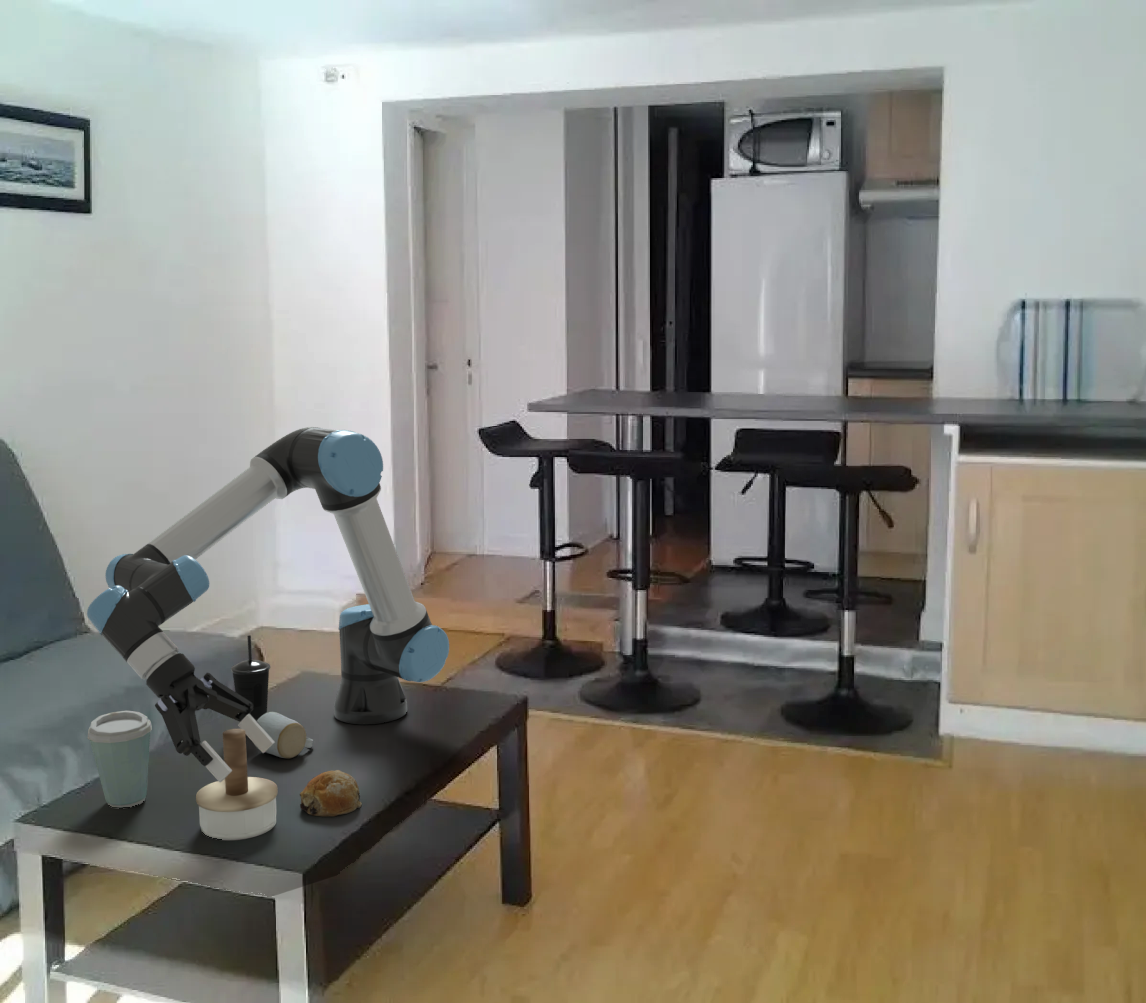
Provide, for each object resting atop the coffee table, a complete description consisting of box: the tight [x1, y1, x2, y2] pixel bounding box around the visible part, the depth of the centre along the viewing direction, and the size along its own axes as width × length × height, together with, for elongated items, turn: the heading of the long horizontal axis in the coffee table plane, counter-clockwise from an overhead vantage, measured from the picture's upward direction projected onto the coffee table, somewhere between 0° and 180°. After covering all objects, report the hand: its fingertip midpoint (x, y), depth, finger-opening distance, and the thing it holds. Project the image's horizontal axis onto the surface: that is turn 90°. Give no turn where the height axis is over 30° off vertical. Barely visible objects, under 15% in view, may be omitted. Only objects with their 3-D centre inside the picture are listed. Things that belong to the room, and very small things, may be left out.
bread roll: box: [299, 769, 363, 818], centre depth 217 cm, size 10×10×8 cm
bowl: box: [198, 797, 277, 841], centre depth 210 cm, size 12×12×5 cm
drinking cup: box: [230, 635, 271, 737], centre depth 254 cm, size 8×8×20 cm
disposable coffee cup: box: [86, 710, 153, 808], centre depth 219 cm, size 11×11×15 cm
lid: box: [195, 728, 279, 812], centre depth 209 cm, size 13×13×11 cm
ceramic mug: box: [253, 711, 314, 759], centre depth 243 cm, size 11×8×8 cm
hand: (248, 762), depth 208 cm, fingers open, 13 cm apart
